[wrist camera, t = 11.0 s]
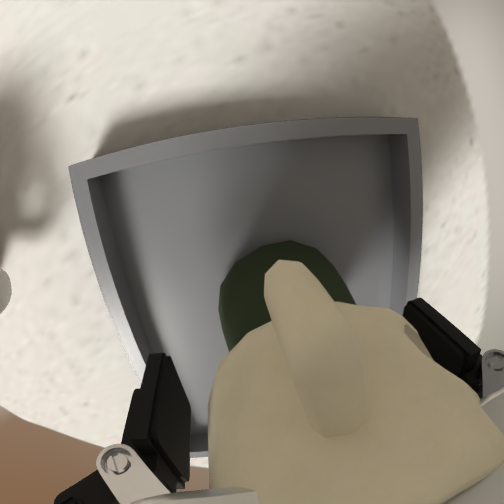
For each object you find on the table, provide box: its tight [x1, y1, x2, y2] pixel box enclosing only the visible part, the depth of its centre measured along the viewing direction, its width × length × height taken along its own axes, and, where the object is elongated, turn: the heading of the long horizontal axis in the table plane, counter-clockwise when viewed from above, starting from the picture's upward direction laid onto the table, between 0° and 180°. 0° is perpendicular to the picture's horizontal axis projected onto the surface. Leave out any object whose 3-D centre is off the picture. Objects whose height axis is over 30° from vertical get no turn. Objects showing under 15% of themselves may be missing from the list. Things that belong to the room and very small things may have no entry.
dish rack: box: [69, 117, 423, 458], centre depth 13 cm, size 20×16×8 cm
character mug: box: [208, 240, 504, 504], centre depth 9 cm, size 11×7×13 cm, turn 19°
